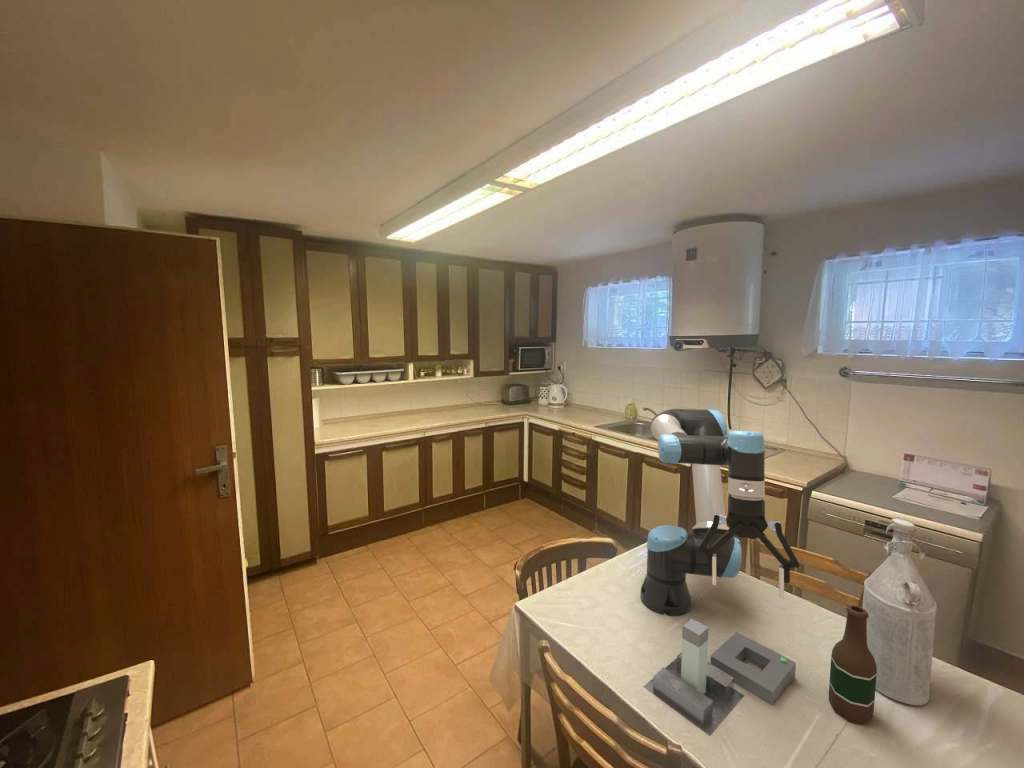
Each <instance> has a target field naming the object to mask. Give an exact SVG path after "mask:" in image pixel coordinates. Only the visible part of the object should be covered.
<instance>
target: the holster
mask: <svg viewBox="0 0 1024 768" xmlns="http://www.w3.org/2000/svg"><path fill="white" fill-rule="evenodd" d="M681 662H682V651H680V653H678V654H677V655H676V658H675V659H674V660H673V661H671V662H670V663H669V664H667V666H666V667H662V668H661V669H660V670H658V671H657V673H655V674H654V675H653V677H652V678H651V679H650V680H649V681H648V682H647V683H645V685H643V688H644V689H646V690H647V691H648V692H650V693H651V694H653V695H654V696H655V697H657V698H658V699H659V700H661V701H662V702H663V703H665V704H666V705H667V706H669V707H670V708H671V709H673V710H674V711H676V712H677V713H678V714H680V715H681V716H682V717H684V718H685V719H686V720H688V721H689V722H690V723H691V724H693V725H695V726H696V727H697V728H698V729H700V730H701V731H703V733H705V734H707V735H708V736H710V737H711V735H713V733H714V732H715V731H716V730H717V728H718V727H719V726H720V725H721V723H722V722H723V721H725V719H726V718H728V716H729V714H730V713H731V712H732V711H733V710H734V709H735V707H737V705H739V702H741V700H742V699H743V698H744V697H745V695H744V694H743V693H741V692H740V691H739V690H737V689H735V688H734V687H735V683H734V678H733V677H731V676H730V675H728V674H727V673H725V672H723V671H722V670H720V669H718V668H717V667H715V666H713V665H712V664H710V662H708V661H707V676H706V692H705V693H704V694H702V693H700V692H699V691H697V690H696V689H694V688H693V687H691V686H690V685H688V684H687V683H685V682H684V681H682V680H681Z"/></svg>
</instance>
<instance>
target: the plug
mask: <svg viewBox="0 0 1024 768" xmlns="http://www.w3.org/2000/svg"><path fill="white" fill-rule="evenodd" d="M681 635H682V636H681V652H682V662H681V680H682V681H684V682H685V683H687V684H688V685H690V686H691V687H693V688H694V689H696V690H697V691H699V692H700V693H702V694H704V693H705V692H706V676H707V662H708V650H709V649H708V647H709V646H708V645H709V644H708V643H709V627H708V626H706V625H704V624H703V623H701V622H699V621H698V620H695V619H693V618H690V619H689V620H688V621H687V622H686V623H685V624H683V625H682V634H681Z"/></svg>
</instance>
